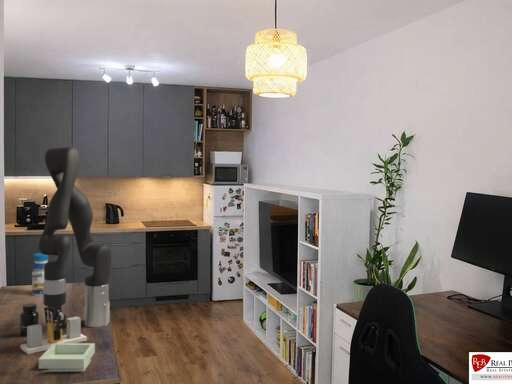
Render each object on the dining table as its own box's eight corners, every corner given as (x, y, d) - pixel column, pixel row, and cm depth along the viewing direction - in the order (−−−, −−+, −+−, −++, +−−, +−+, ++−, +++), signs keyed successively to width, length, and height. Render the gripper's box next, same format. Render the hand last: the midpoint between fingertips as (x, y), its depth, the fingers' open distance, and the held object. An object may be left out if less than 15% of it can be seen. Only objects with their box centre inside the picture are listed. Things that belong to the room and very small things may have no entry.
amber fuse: (58, 341, 183) (58, 320, 182) (61, 344, 181) (62, 322, 180) (47, 344, 180) (47, 322, 179) (50, 346, 178) (50, 324, 177)
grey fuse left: (38, 346, 178) (38, 324, 177) (42, 348, 176) (42, 326, 175) (27, 348, 175) (27, 326, 175) (30, 351, 173) (30, 328, 172)
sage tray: (94, 354, 174) (94, 343, 174) (83, 371, 160) (83, 359, 160) (53, 354, 173) (53, 343, 173) (38, 371, 159) (38, 359, 159)
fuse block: (78, 337, 190) (78, 332, 190) (86, 342, 185) (87, 336, 185) (20, 351, 175) (20, 344, 175) (27, 357, 170) (27, 350, 170)
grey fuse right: (77, 337, 188) (77, 316, 187) (80, 339, 185) (80, 318, 185) (66, 339, 185) (66, 318, 184) (70, 342, 183) (70, 320, 182)
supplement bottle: (17, 339, 186) (17, 307, 186) (21, 333, 193) (21, 302, 192) (37, 338, 188) (37, 306, 188) (40, 332, 195) (40, 302, 194)
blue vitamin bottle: (53, 293, 252) (53, 253, 251) (38, 297, 245) (38, 256, 243) (43, 290, 256) (43, 252, 255) (28, 294, 249) (28, 254, 248)
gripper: (73, 293, 177) (73, 341, 178) (57, 285, 187) (57, 331, 188) (52, 296, 171) (52, 346, 172) (36, 288, 182) (36, 335, 183)
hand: (54, 338), depth 180 cm, fingers open, 3 cm apart
